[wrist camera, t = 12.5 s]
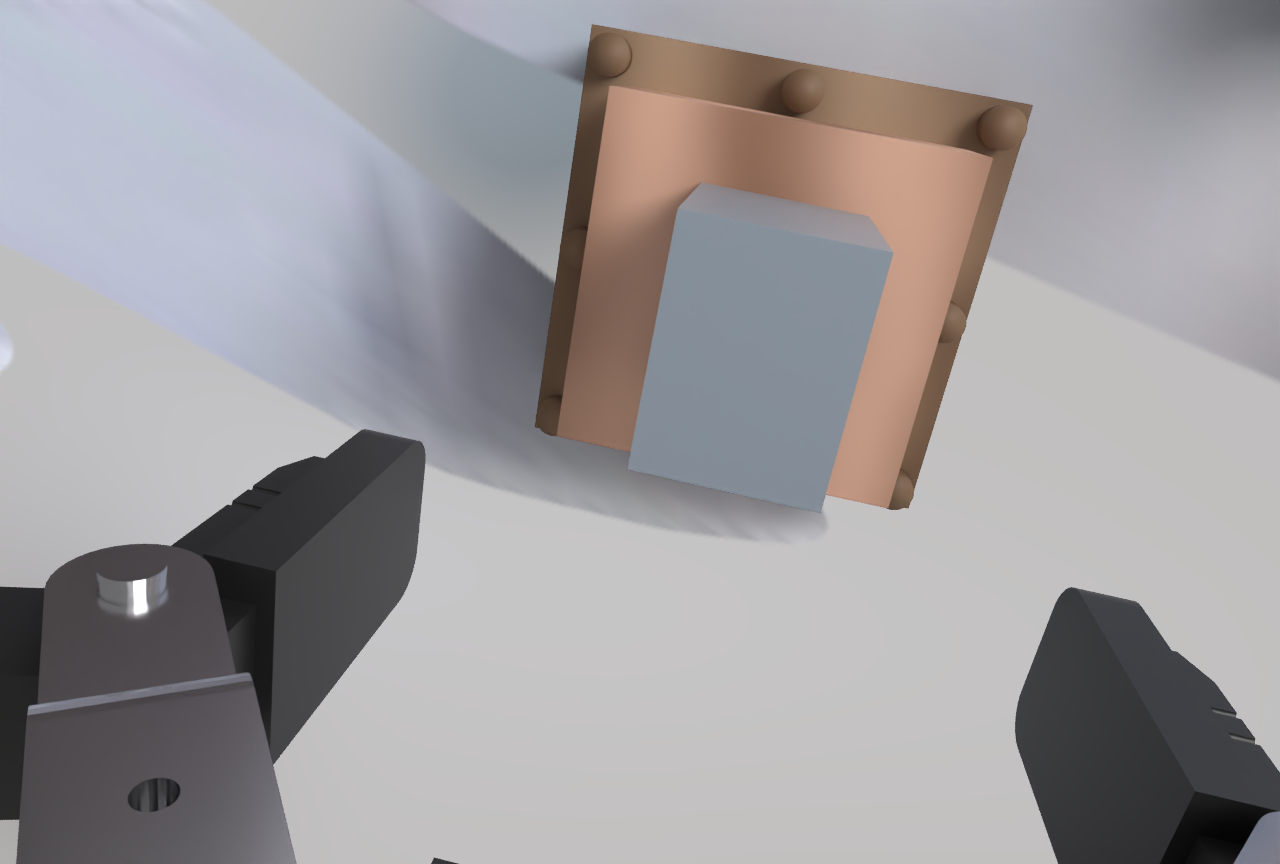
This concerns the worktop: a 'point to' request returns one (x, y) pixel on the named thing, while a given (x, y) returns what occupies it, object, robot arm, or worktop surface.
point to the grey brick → (758, 344)
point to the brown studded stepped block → (784, 168)
